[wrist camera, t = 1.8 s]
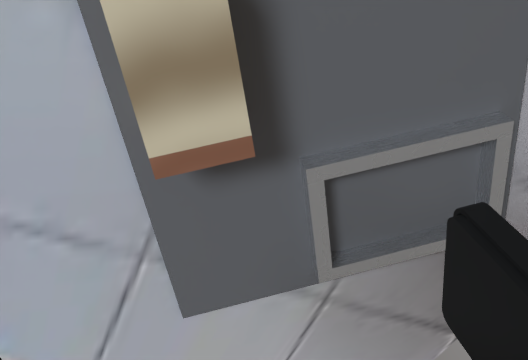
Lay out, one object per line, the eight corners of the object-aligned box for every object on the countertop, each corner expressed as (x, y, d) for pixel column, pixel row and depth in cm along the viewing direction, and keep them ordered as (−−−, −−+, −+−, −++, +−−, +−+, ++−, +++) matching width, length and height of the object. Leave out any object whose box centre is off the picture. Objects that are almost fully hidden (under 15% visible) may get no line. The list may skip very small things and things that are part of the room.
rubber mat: (66, -36, 23) (65, -35, 22) (548, -125, 25) (554, -125, 25) (182, 314, 35) (183, 318, 35) (499, 232, 37) (502, 235, 37)
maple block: (102, -29, 23) (95, -14, 19) (209, -49, 23) (221, -38, 20) (153, 143, 28) (155, 179, 24) (242, 123, 28) (255, 156, 25)
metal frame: (299, 157, 30) (305, 169, 29) (499, 111, 31) (514, 120, 30) (312, 268, 35) (319, 283, 34) (485, 224, 36) (498, 236, 35)
